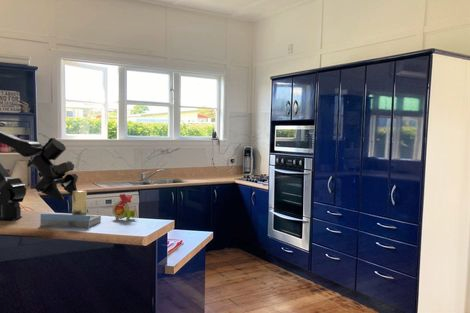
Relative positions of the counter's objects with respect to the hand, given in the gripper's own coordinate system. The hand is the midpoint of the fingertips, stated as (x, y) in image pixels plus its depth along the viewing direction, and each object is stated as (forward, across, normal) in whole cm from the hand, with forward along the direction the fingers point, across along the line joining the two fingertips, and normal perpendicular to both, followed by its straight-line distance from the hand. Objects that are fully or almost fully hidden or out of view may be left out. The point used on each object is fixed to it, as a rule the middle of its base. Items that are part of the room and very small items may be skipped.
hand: (71, 198), depth 145 cm
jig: (+7, 0, +6) cm, 9 cm away
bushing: (+9, 0, +4) cm, 10 cm away
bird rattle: (+17, +13, -4) cm, 22 cm away
